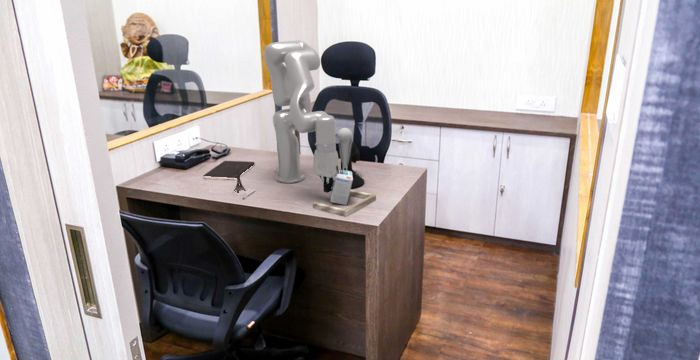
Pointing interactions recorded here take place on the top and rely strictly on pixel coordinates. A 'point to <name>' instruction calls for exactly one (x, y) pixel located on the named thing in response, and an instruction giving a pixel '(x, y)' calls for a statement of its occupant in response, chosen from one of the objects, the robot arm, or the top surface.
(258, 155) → the top surface
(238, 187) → the eiffel tower figurine
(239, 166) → the hardcover book
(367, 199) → the bay
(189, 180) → the top surface
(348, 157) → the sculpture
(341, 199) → the light bulb box
